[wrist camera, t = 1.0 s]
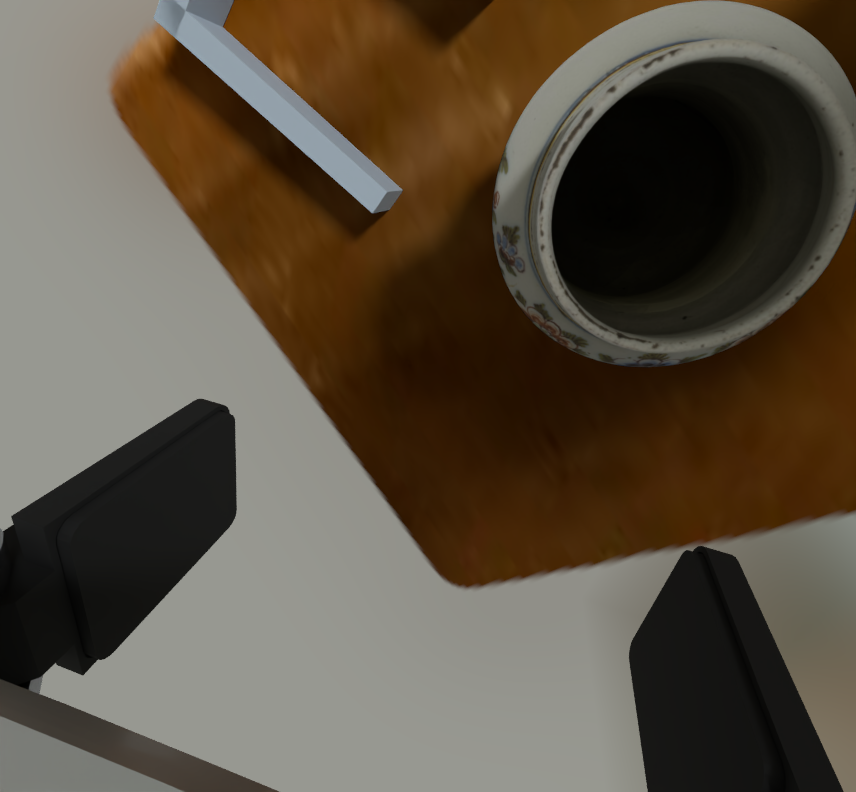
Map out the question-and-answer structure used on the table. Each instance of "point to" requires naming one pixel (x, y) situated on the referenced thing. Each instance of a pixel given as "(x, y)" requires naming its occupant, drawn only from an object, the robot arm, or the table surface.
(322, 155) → the fence
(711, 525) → the table surface
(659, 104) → the apothecary jar
